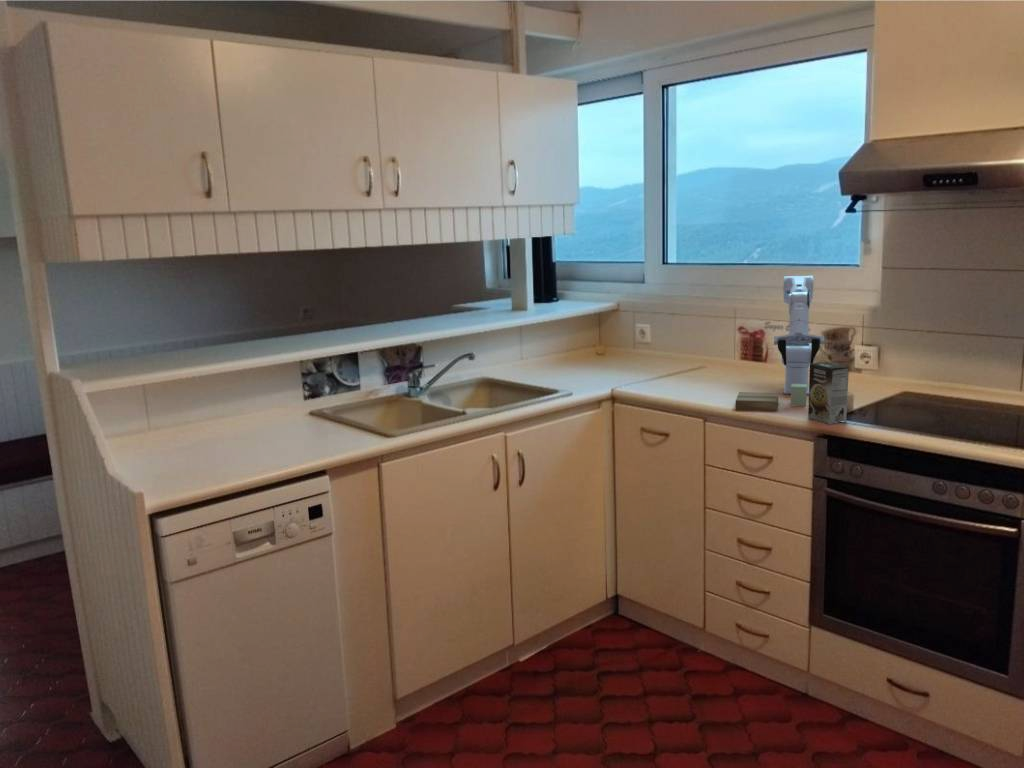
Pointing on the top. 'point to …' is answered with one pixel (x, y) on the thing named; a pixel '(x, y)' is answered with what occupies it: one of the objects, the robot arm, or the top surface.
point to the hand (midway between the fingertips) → (798, 363)
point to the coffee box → (828, 392)
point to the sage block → (798, 394)
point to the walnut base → (757, 401)
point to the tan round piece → (850, 402)
